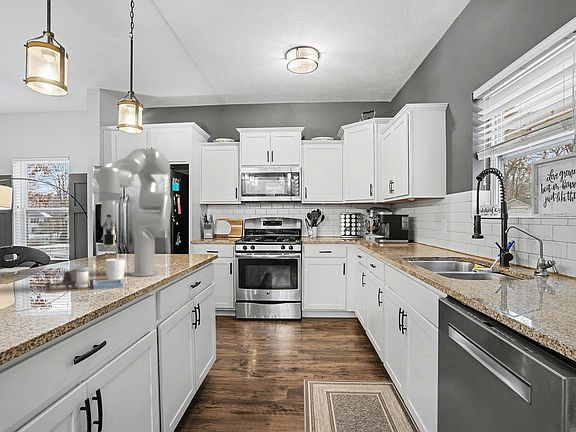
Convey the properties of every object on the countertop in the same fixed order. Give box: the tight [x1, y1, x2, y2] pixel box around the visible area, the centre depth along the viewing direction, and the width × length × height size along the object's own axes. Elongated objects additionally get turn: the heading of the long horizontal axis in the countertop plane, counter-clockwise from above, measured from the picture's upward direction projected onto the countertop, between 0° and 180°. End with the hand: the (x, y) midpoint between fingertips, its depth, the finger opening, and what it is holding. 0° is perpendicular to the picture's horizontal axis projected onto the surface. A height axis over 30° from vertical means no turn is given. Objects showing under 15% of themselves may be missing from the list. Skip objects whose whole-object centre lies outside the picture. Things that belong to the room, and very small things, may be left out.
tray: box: [92, 278, 124, 291], centre depth 136 cm, size 10×10×3 cm
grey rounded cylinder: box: [75, 266, 90, 289], centre depth 133 cm, size 4×4×8 cm
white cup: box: [105, 257, 126, 280], centre depth 154 cm, size 8×8×10 cm
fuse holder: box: [44, 278, 94, 294], centre depth 131 cm, size 10×15×4 cm, turn 116°
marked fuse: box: [102, 225, 116, 247], centre depth 137 cm, size 4×4×8 cm
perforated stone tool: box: [62, 269, 77, 286], centre depth 145 cm, size 15×5×7 cm, turn 4°
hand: (109, 243), depth 136 cm, fingers closed on marked fuse, 4 cm apart
